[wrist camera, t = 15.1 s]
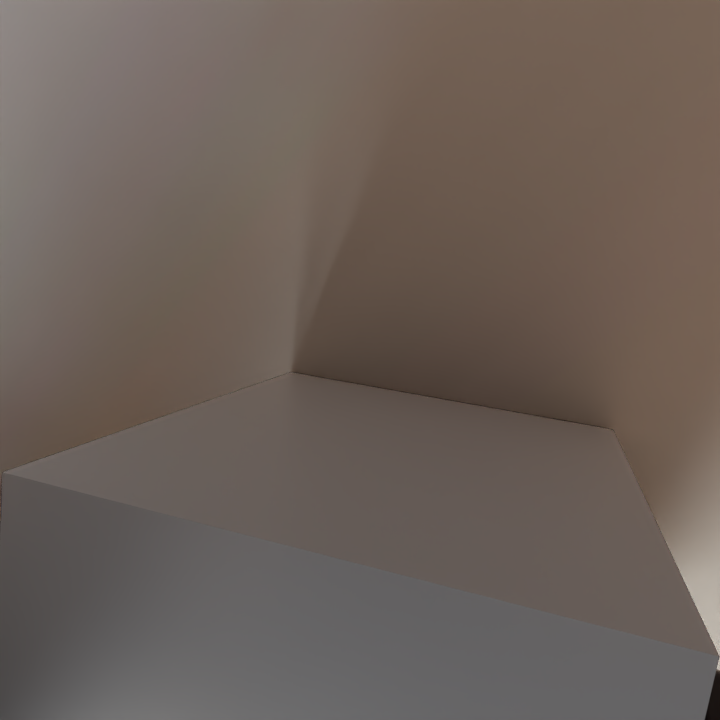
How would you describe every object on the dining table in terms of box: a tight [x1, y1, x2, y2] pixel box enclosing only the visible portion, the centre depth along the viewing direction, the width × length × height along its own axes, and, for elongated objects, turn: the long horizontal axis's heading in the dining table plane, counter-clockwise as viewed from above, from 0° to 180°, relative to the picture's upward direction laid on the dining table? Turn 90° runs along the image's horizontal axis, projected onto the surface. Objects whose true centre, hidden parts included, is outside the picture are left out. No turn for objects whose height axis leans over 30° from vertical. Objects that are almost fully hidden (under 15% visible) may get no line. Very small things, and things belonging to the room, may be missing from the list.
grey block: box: [0, 372, 719, 720], centre depth 11 cm, size 8×8×9 cm
